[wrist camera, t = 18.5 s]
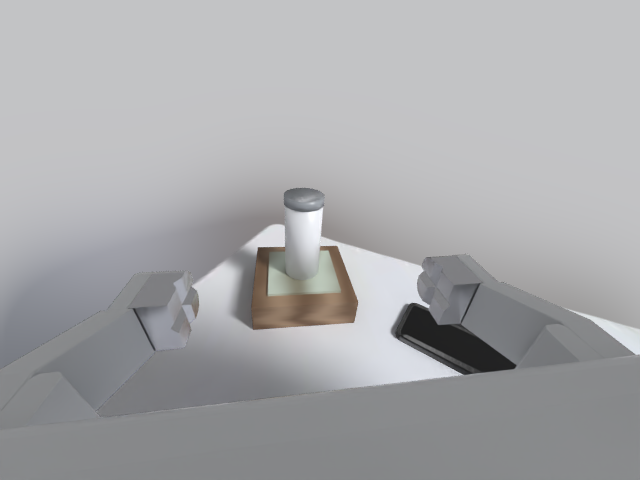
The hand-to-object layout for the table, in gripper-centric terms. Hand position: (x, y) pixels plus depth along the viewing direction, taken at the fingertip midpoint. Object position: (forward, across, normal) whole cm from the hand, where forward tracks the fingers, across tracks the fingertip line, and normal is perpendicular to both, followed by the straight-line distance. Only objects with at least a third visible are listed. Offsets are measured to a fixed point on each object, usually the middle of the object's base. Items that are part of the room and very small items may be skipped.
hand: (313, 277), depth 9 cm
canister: (+24, -1, +18) cm, 30 cm away
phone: (+12, -21, +24) cm, 34 cm away
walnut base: (+24, -1, +23) cm, 33 cm away
